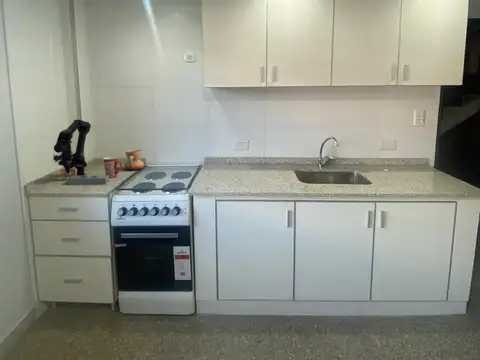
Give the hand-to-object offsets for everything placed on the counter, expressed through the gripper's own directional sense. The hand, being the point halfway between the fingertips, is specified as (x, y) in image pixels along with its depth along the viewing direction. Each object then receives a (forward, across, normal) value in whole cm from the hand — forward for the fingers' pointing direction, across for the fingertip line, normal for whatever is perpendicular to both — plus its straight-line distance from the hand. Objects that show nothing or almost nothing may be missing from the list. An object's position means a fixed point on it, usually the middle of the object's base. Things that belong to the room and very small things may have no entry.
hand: (68, 173), depth 300 cm
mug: (+5, -7, +28) cm, 29 cm away
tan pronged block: (+4, 0, 0) cm, 4 cm away
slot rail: (+4, +10, +16) cm, 19 cm away
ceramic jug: (+5, -34, +37) cm, 50 cm away
